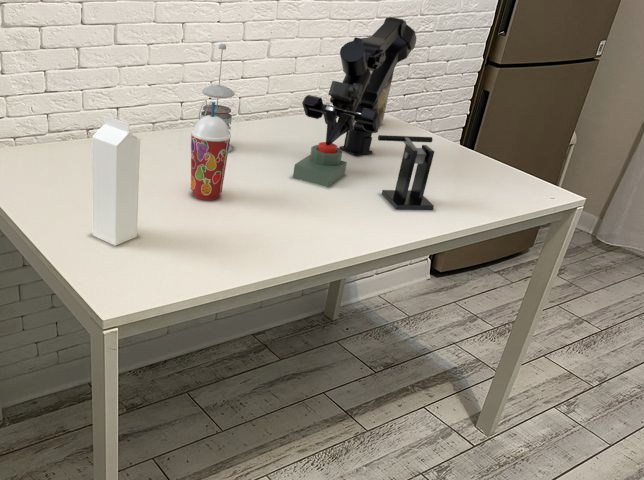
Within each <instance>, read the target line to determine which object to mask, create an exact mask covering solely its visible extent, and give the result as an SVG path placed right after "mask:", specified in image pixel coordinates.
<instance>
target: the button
mask: <svg viewBox="0 0 644 480" xmlns="http://www.w3.org/2000/svg"><path fill="white" fill-rule="evenodd" d="M317 145H318V151H320V152H323V153H330V154H332V153H336V149H337V148H338V145H337V144H335V143H334V142H333V143H332V144H330V145H326V141H322V142H318V144H317Z"/></svg>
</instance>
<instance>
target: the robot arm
mask: <svg viewBox="0 0 644 480" xmlns="http://www.w3.org/2000/svg"><path fill="white" fill-rule="evenodd" d="M416 43H417V34H416V31H415V29H414V28H412V27H410V25H408V24H407V22H406V20H405V19H403V18H399V17H393V16H388V17H386V18H385V19H384V21H383V23H382V24H381V26H379V28H377V30H376V31H374V33H373V34H372V35H371V36H369V37H362V38H361V37H354V38H353V40H352V41H351V40H350V41H348V42H346V43H345V44H343V45H342V46H341V48H340V50H339V56H340V61H341V66H342V71H343V73H344V74H345V76H344V78H343V80H342V82H341V81H337V80H332V81H331V84H330V88H329V91H328V94H327V95H328V96H329V97H330V98H329V102H330V103H325V104H324V102H323V98H322V97H319V96H317V95H312V94H308V95H306V96H304V98H303V100H302V103H301V104H302V108H303V111H304V114H305V116H306V117H307V118H312V119H316V120H319V119H321V118H322V117H323V119H324V123H325V125H326V134H325V135H326V136H325V142H326V145H330V144H332V143H333V144H334V142H335V141H337V140H338V139H339V138H340V137H342V136H343V135H344V134H345V138H344V144H343V145H340V146H339V148H338V149H340V150H342V151H344V152H346V153H348V154H350V155H352V156H356V157H358V156H364V155H370V154H373V150H371V145H372V141H373V137H372V135H373V134H377V133H378V132H379V130H380V127H381V125H380V117H379V111H378V99H379V97H380V95H381V93H382V91H383V89H384V87H385V85H386V84H387V82H388V80H389V78H390V76H391V74H392V72H393V70H394V71H395V68H396V67H397V64H398V63H399V62H402V61H405V59H408V56H409V55H410V53H411V52H412V51H414V49H415V46H416ZM368 68H371V69H374V70H373V72H372V73H371V74H370V71H369V69H368ZM393 73H394V72H393Z"/></svg>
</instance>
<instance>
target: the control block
mask: <svg viewBox="0 0 644 480" xmlns="http://www.w3.org/2000/svg"><path fill="white" fill-rule="evenodd" d="M318 145H319V144H316V145H313V146H311V148H310V154H309V155H307V156H306V157H303V158H302V159H301V160H299V161H297V162H296V163H295V164H294V168H293V173H292V178H293V179H295V180H298V181H303V182H307V183H310V184H314V185H318V186H321V187H325V188H329V187H330V186H331V185H333V184H334V183H335V182H337V181H338V180H340V179H341V178H342V177H344V176H345V174H346V168H347V161H345V160H342V158H343V150H342V149H340V148H338V147H337V149H336V153H332V154H330V153H323V152H320V151H318Z"/></svg>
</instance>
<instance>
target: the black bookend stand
mask: <svg viewBox="0 0 644 480" xmlns="http://www.w3.org/2000/svg"><path fill="white" fill-rule="evenodd" d="M421 148H422V149H423V150H424V151H425V153H426V157H425V160H424V163H423V164H416V169H415V172H414V176H413V171H414V168H415V160H416V156H417V152H418V151H417V150H416V149H415V148H413V147H412V146H411V145H410V144H406V145H405V144H404V149H403V155H402V159H401V162H400V167H399V170H398V175H397V180H396V184H395V189H382V190H381V196H382V197H383V198H384V199H385V200H386V201H387V202H388V203H389V204H390V206H392V208H394V210H395V211H434V208H435V205H434V204H433V203H432V202H431V201H430V200H429V199H427V197H425V196H424V194H425V190H426V186H427V182H428V180H429V179H428V178H429V175H430V171H431V167H432V164H433V160H434V155H435V150H433V149H432V148H431V147H430V146H428V145H427V144H422V145H421ZM412 176H413V181H412V185H411V188H410V184H411V180H412ZM409 189H411V190H409Z"/></svg>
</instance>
